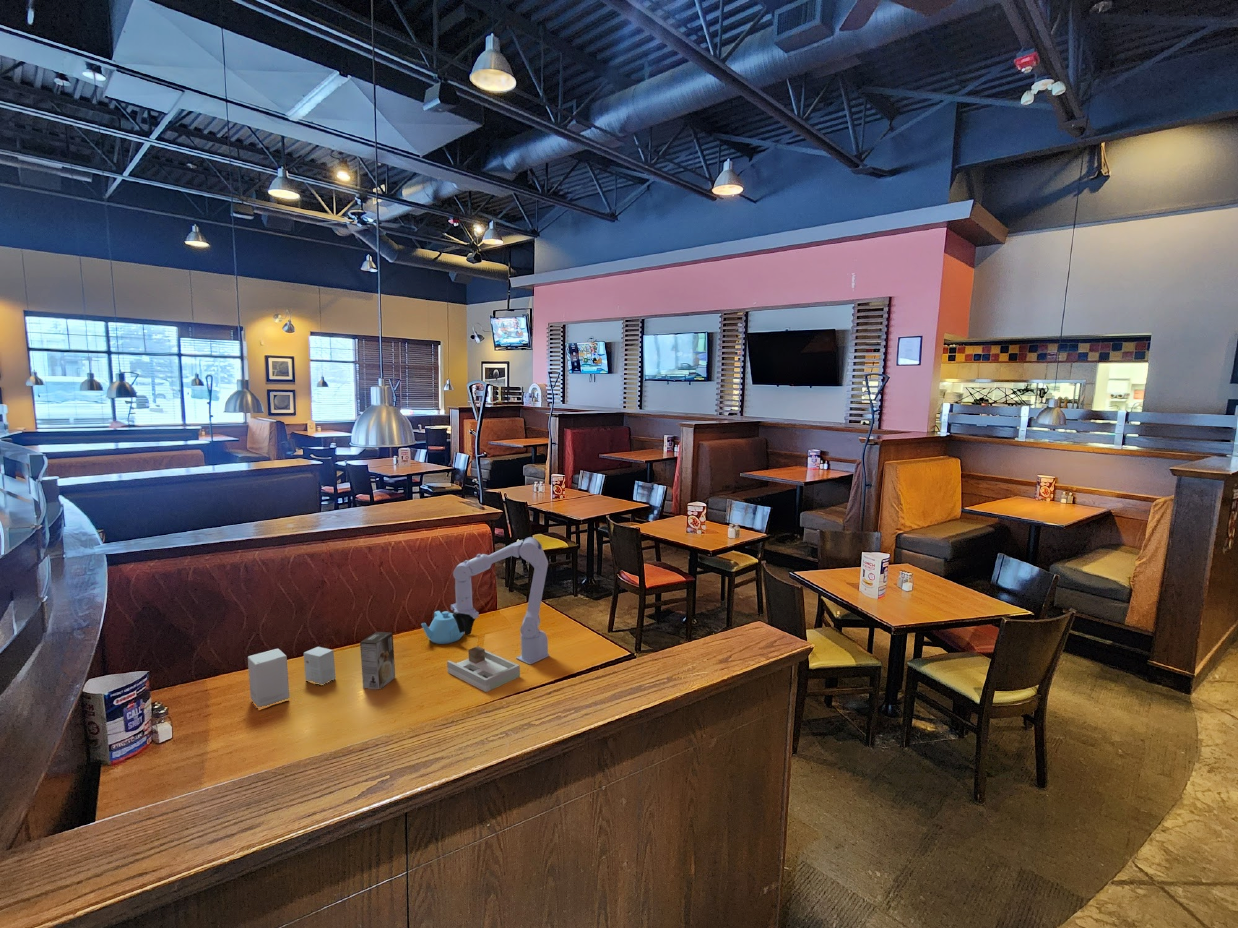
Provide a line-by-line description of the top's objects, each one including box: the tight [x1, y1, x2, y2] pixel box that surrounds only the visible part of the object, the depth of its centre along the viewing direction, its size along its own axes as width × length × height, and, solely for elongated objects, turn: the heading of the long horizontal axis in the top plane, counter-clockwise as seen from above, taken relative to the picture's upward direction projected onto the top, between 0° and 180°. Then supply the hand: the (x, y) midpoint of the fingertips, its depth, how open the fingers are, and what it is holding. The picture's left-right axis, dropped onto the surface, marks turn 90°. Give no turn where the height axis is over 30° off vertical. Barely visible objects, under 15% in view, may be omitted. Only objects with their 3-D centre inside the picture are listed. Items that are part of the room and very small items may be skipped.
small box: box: [303, 646, 337, 684], centre depth 195 cm, size 8×6×10 cm
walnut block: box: [467, 645, 485, 664], centre depth 205 cm, size 4×4×4 cm
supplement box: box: [247, 648, 290, 707], centre depth 181 cm, size 9×9×15 cm
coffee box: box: [359, 631, 396, 690], centre depth 193 cm, size 9×6×16 cm
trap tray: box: [446, 650, 521, 693], centre depth 198 cm, size 14×22×4 cm, turn 49°
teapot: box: [420, 610, 465, 645], centre depth 230 cm, size 15×15×11 cm
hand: (465, 632), depth 209 cm, fingers open, 3 cm apart
